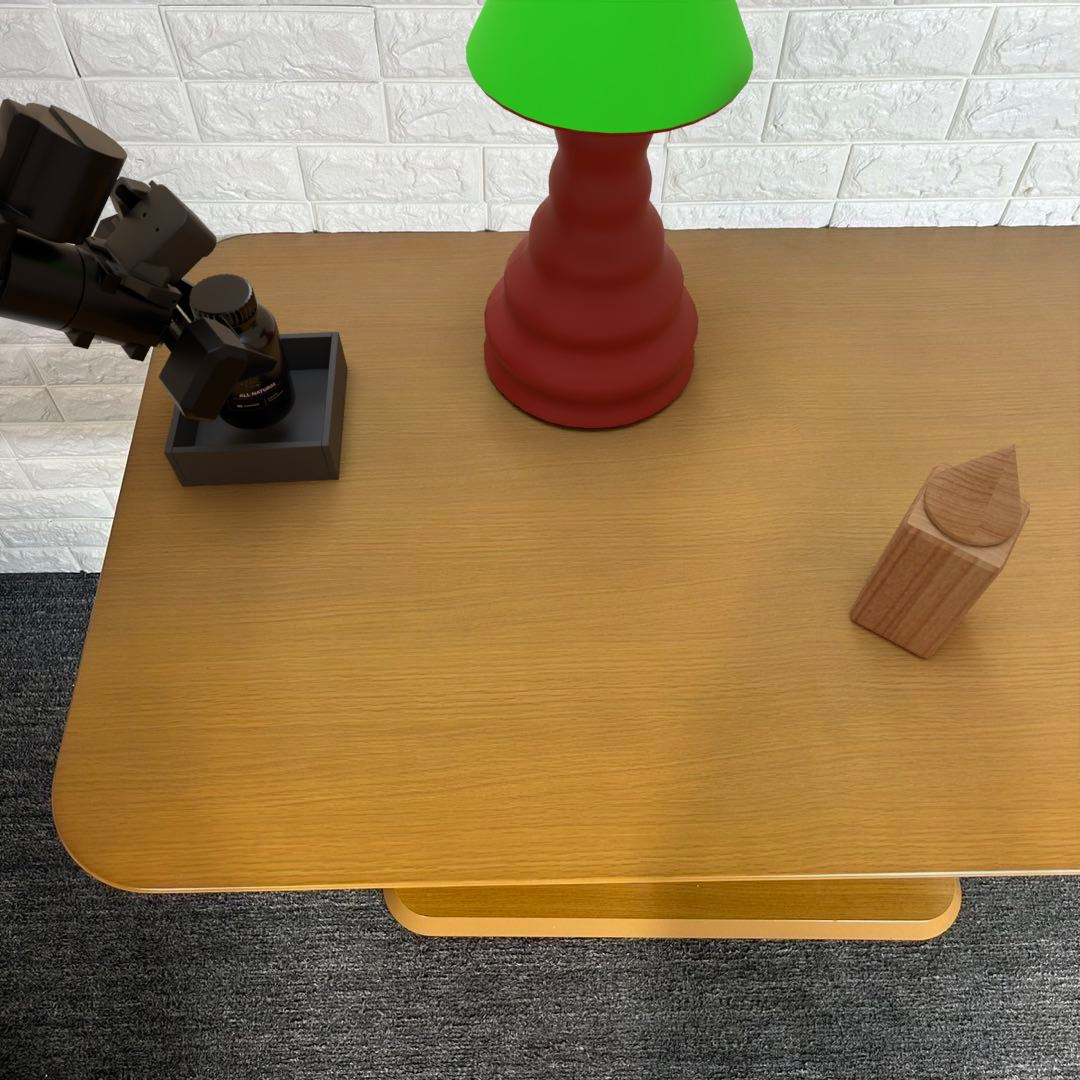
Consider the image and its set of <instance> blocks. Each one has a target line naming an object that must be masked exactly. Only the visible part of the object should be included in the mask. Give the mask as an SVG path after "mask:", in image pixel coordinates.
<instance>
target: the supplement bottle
mask: <svg viewBox="0 0 1080 1080" xmlns="http://www.w3.org/2000/svg"><path fill="white" fill-rule="evenodd" d="M189 295H190V296H189V304H190V307H191V310H192V315H193V318H194V319H193V321H195V320H197V319H199V318H202V317H205V318H208V319H212V320H215V321H217V320H218V318H219V317H220V315H221V316H222V317H223V318H224V319H225V320H226V321H227V323H228V324H229V325H230V326H231V327H232V329H233V330H234V331H235V332H236V333H237V335H238V336H239V339H240V341H241V342H243V343H245V344H248V345H250V346H252V347H254V348H257V349H259V350H261V351H263V352H265V353H267V354H269V355H271V356H273V357H275V358H276V359H277V364H276V366H275V367H274V369H273V370H272V371H271V372H268V373H265V374H262V375H259V376H256V377H253V378H250V379H247V380H244V381H241V382H238V383H236V384H235V386H234V387H233V389H232V391H231V393H230V395H229V396H228V398H227V400H226V402H225V404H224V405H223V407H222V409H221V411H220V413H219V416H220V417H221V418H222V419H223V420H224V421H225V422H226V423H227V424H229V425H231V426H233V427H235V428H239V429H243V430H259V429H264V428H267V427H270V426H273V425H275V424H277V423H279V422H280V421H282V420H283V419H284V418H285V417H286V416H287V415H288V414H289V413H290V411H291V410H292V408H293V406H294V403H295V399H296V393H295V388H294V384H293V380H292V376H291V373H290V369H289V366H288V362H287V359H286V355H285V351H284V348H283V344H282V341H281V337H280V334H281V333H280V331H279V326H278V324H277V321H276V318H275V316H274V315H273V313H272V312H271V311H270V310H269V309H267V307H265V306H264V305H262V304H261V303H259V302H258V299H257V296H256V294H255V291H254V288H253V286H252V284H251V283H250V282H249V281H248V279H246V278H244V277H243V276H240V275H239V274H234V273H220V274H213V275H212V276H207V277H205V278H203V279H201V280H200V281H197V283H196V284H195V285H194V287H193V288H192V289H191V292H190V293H189ZM193 321H192V322H193Z"/></svg>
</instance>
